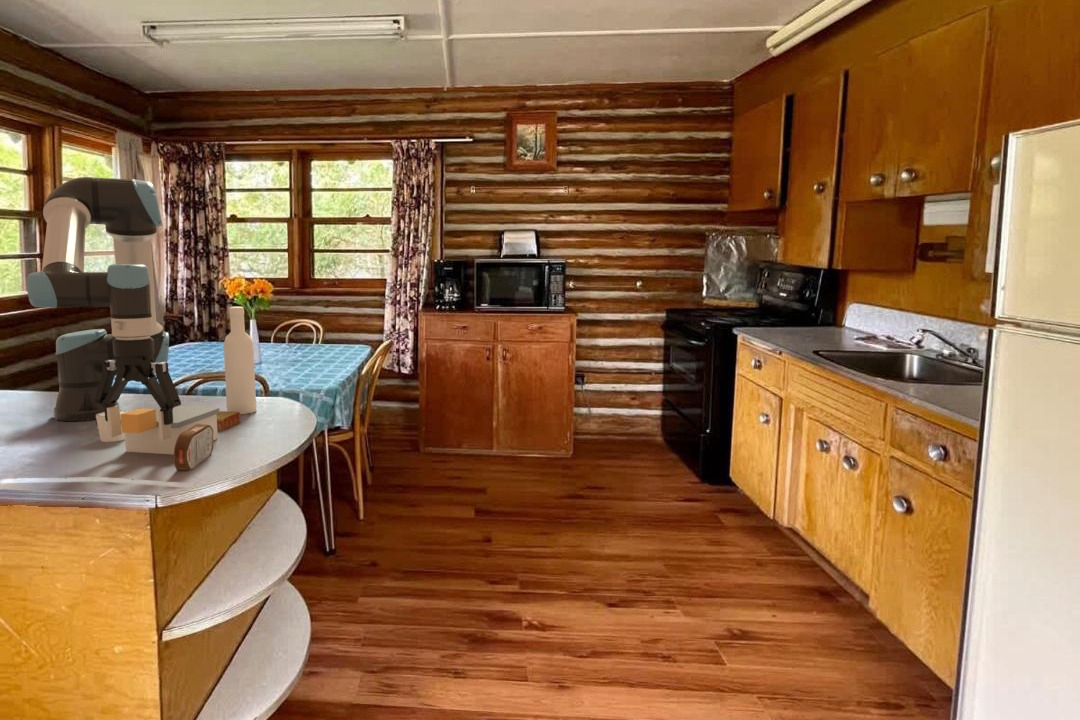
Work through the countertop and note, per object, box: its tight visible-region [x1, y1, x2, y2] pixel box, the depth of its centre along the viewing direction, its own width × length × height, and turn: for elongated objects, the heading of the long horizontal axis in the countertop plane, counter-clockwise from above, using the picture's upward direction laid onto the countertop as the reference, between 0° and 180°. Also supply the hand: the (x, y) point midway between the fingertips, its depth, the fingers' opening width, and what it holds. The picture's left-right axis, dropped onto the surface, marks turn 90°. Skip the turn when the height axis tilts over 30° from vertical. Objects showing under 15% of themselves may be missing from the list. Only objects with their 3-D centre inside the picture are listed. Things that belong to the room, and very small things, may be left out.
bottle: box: [223, 306, 257, 415], centre depth 194 cm, size 8×8×30 cm
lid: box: [120, 405, 220, 433], centre depth 155 cm, size 14×20×6 cm
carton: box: [216, 410, 241, 431], centre depth 177 cm, size 8×16×4 cm, turn 85°
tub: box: [124, 414, 219, 456], centre depth 159 cm, size 13×14×7 cm
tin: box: [173, 424, 214, 471], centre depth 146 cm, size 15×3×8 cm, turn 5°
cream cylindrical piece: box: [95, 410, 130, 443], centre depth 163 cm, size 7×7×7 cm
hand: (140, 437), depth 148 cm, fingers open, 11 cm apart
